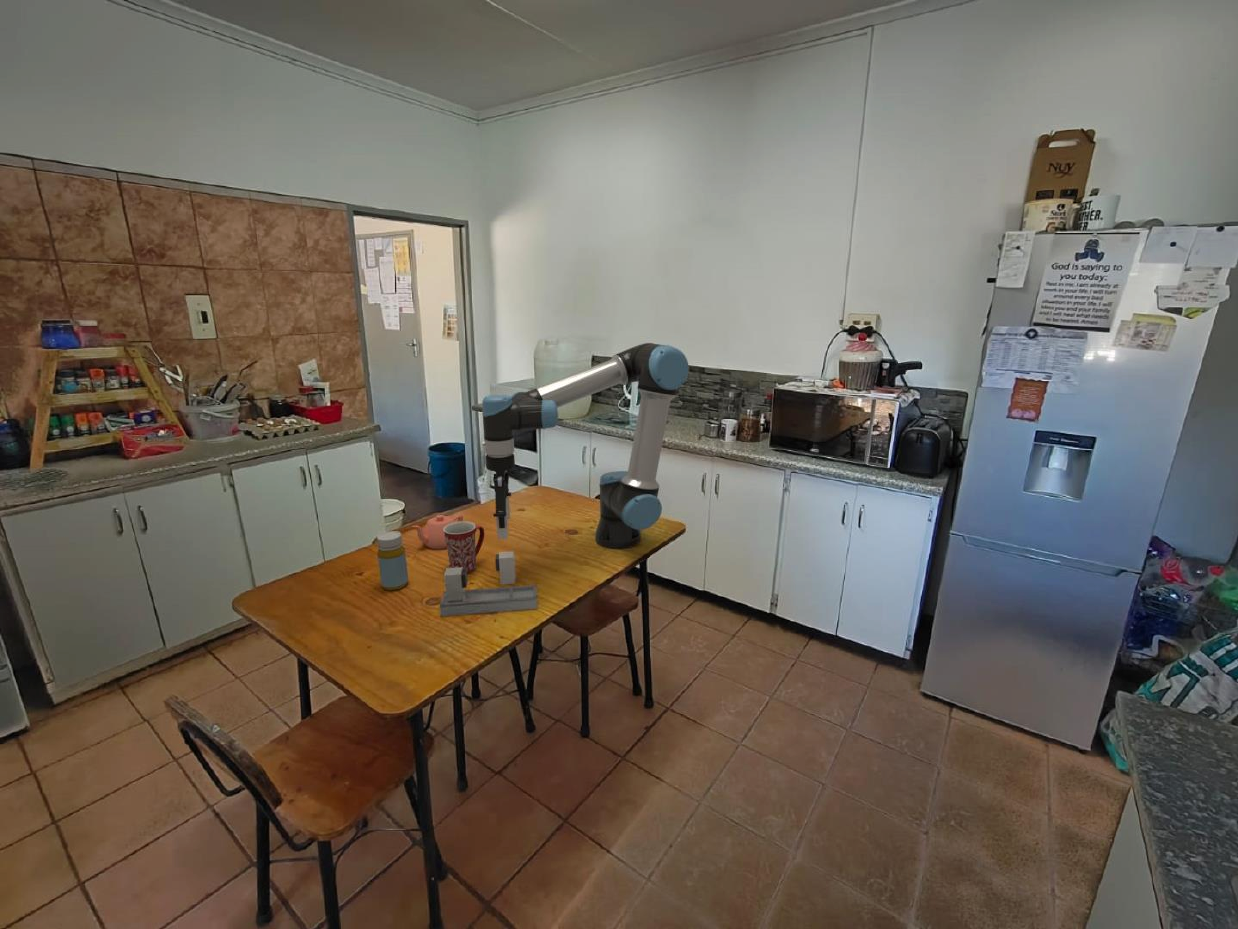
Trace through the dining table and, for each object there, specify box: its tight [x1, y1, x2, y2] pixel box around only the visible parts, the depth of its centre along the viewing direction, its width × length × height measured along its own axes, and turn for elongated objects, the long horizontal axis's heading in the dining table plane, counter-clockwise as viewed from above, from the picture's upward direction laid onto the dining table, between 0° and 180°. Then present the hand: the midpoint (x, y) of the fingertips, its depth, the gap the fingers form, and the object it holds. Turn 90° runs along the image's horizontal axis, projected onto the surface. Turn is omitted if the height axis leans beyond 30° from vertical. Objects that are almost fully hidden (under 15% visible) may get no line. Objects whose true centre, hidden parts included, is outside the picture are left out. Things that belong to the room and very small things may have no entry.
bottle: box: [376, 530, 409, 592], centre depth 153 cm, size 7×7×15 cm
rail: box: [439, 567, 538, 617], centre depth 143 cm, size 24×7×10 cm, turn 99°
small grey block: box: [494, 550, 516, 585], centre depth 157 cm, size 5×4×8 cm
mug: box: [443, 521, 485, 575], centre depth 164 cm, size 13×9×14 cm
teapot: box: [411, 514, 464, 550], centre depth 181 cm, size 12×18×10 cm
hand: (504, 528), depth 153 cm, fingers open, 13 cm apart
